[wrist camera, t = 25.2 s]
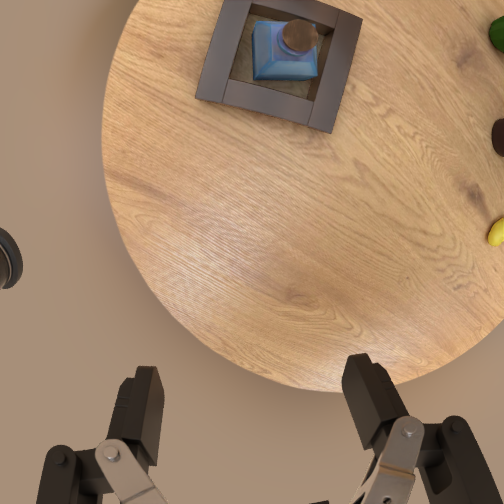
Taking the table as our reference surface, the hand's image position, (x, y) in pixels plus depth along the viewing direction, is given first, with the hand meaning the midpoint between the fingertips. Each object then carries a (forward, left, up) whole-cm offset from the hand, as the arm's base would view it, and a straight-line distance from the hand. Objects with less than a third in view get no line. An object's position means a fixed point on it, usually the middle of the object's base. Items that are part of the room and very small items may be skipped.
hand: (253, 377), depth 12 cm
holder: (+1, +18, -30) cm, 35 cm away
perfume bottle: (+1, +18, -30) cm, 35 cm away
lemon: (+49, +7, -30) cm, 58 cm away
